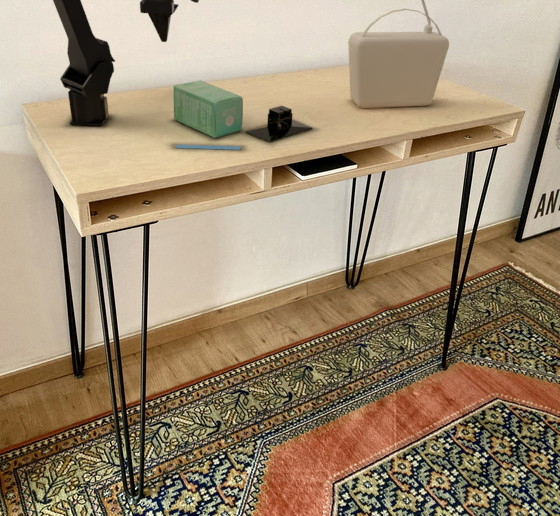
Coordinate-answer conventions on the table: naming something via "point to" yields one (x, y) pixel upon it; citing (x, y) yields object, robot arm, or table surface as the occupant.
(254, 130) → the black stand
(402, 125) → the table surface
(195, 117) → the box
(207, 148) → the tape line
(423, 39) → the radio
